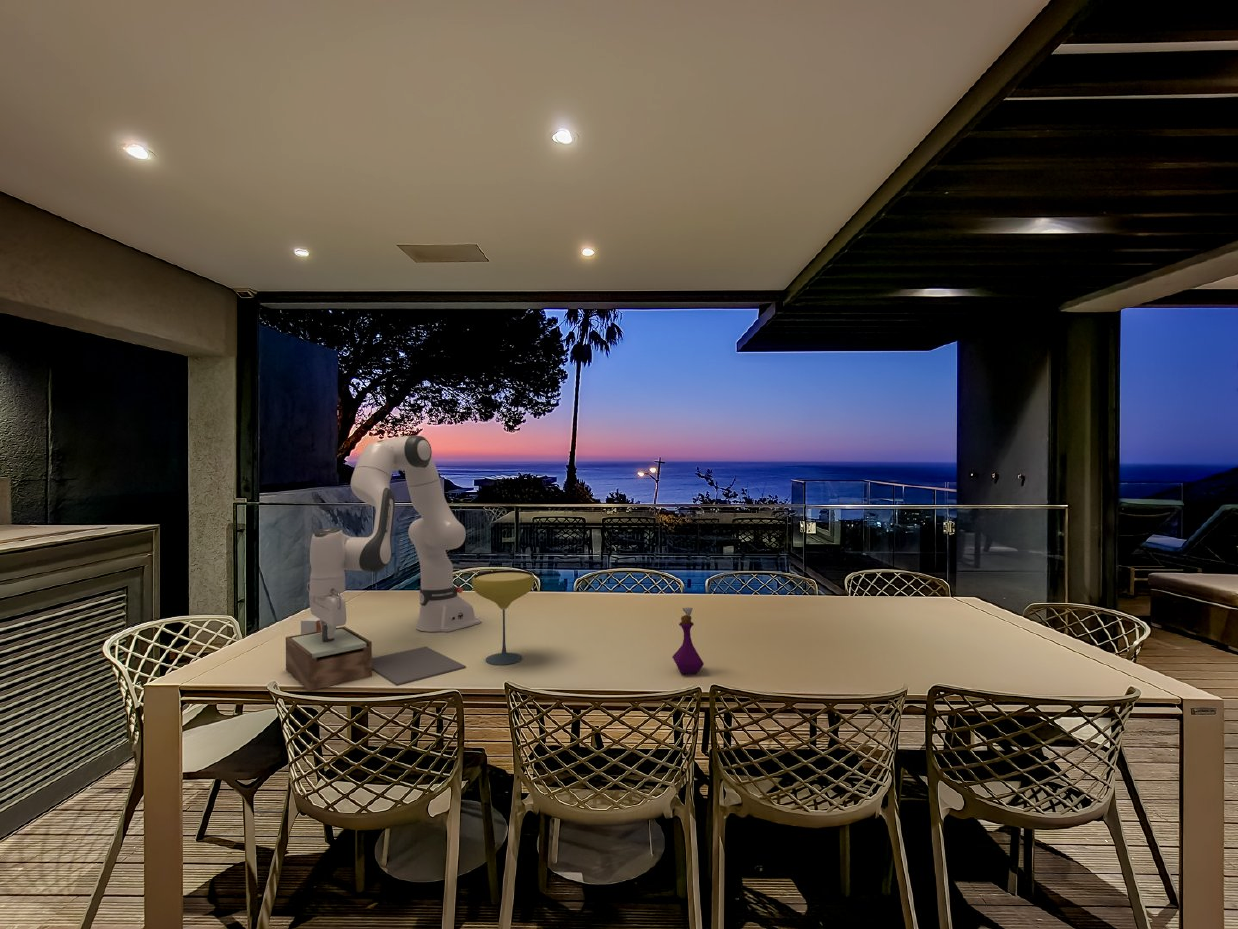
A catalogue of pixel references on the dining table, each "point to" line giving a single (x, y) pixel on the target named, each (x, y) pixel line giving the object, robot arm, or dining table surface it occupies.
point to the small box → (310, 625)
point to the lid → (329, 642)
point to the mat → (413, 665)
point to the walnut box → (328, 664)
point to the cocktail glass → (503, 600)
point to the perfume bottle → (687, 648)
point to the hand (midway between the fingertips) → (328, 636)
